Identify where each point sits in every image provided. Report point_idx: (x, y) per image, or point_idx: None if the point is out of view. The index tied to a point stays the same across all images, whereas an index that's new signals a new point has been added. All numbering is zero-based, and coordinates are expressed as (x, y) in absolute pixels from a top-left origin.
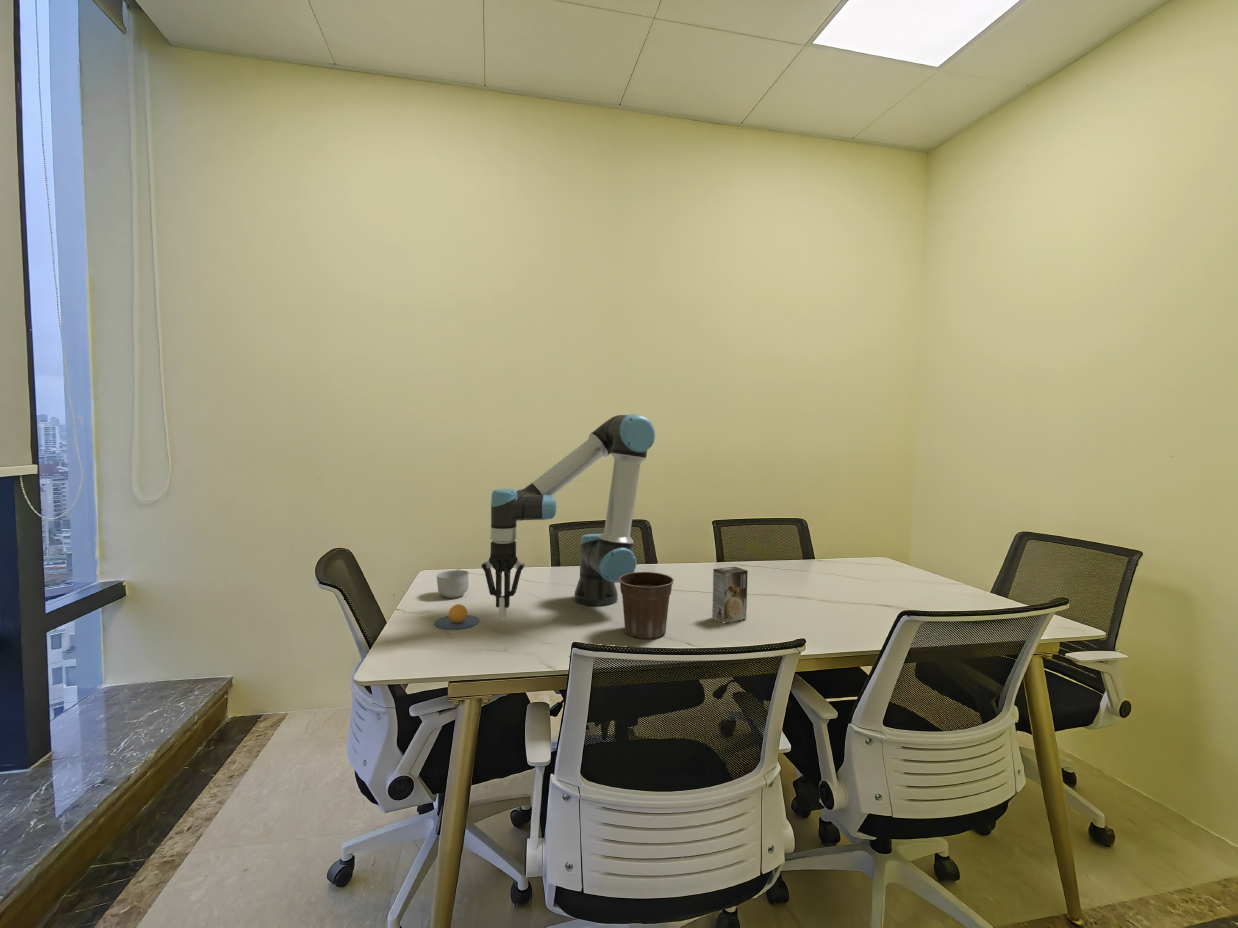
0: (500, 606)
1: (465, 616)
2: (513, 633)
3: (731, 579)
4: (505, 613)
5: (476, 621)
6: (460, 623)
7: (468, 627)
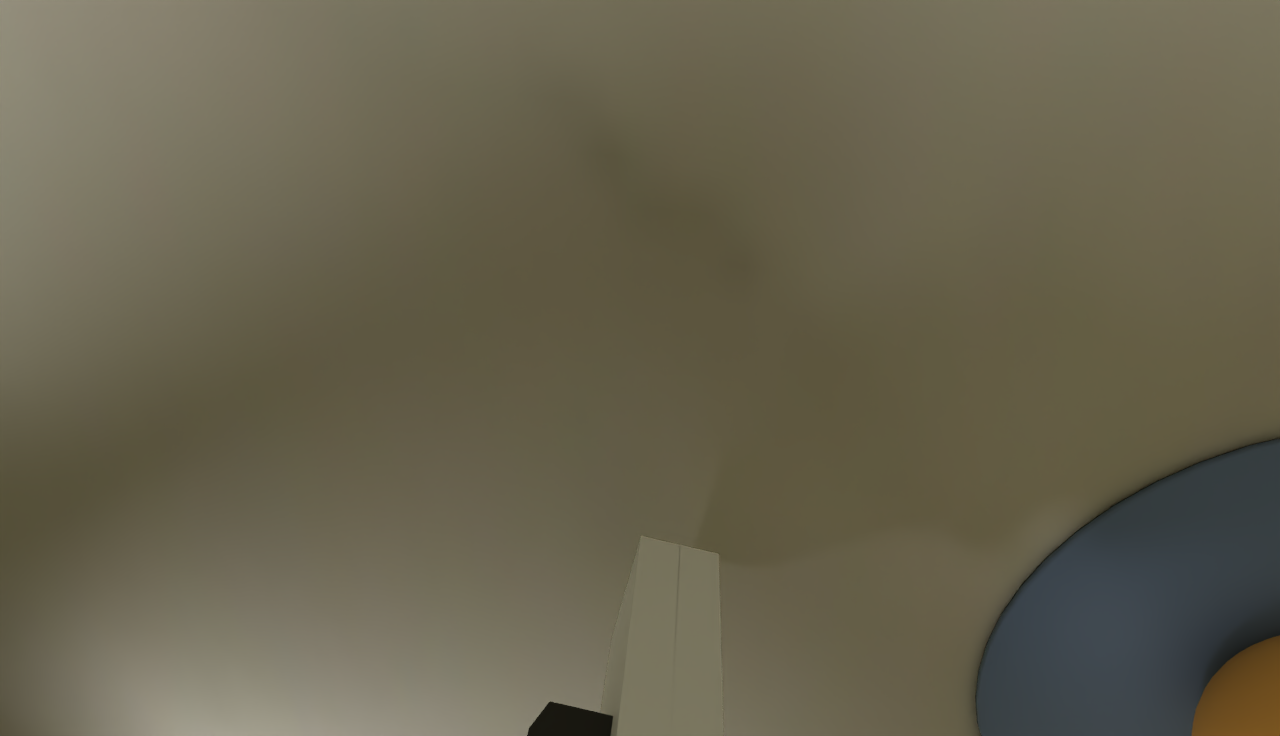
0: (696, 732)
1: (1252, 700)
2: (482, 130)
3: None
4: (613, 655)
5: (1020, 649)
6: (1263, 617)
7: (1178, 473)
